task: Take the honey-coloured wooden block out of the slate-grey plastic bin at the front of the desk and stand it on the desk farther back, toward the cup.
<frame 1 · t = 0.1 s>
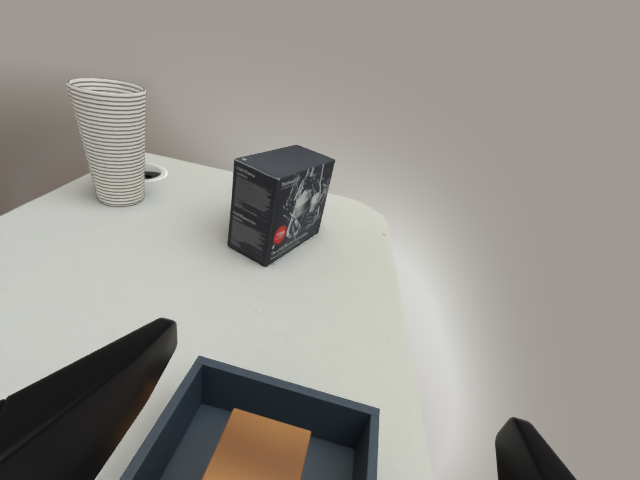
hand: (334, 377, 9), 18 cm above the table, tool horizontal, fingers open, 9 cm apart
small box: (276, 240, 49), on the table
cup: (121, 198, 50), on the table
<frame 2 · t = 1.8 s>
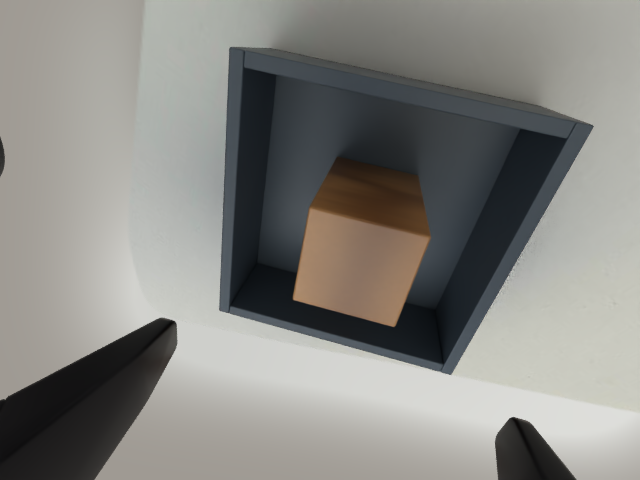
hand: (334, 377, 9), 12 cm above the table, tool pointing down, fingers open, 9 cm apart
block: (367, 203, 19), resting on bin
bin: (367, 200, 20), on the table
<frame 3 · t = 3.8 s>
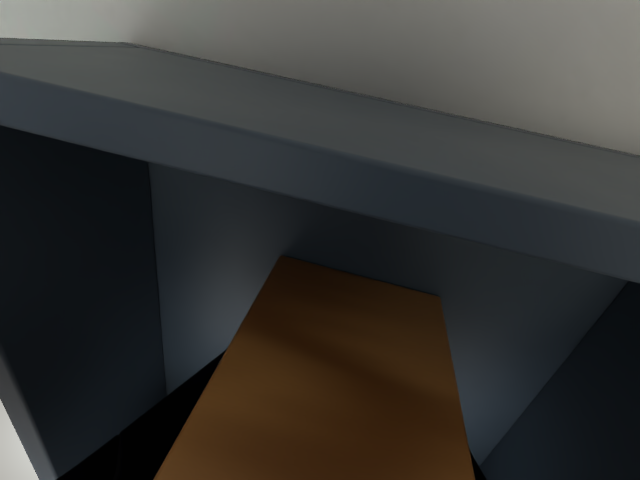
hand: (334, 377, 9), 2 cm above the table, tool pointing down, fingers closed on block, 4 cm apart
block: (341, 332, 10), resting on bin, touching gripper
bin: (343, 324, 11), on the table
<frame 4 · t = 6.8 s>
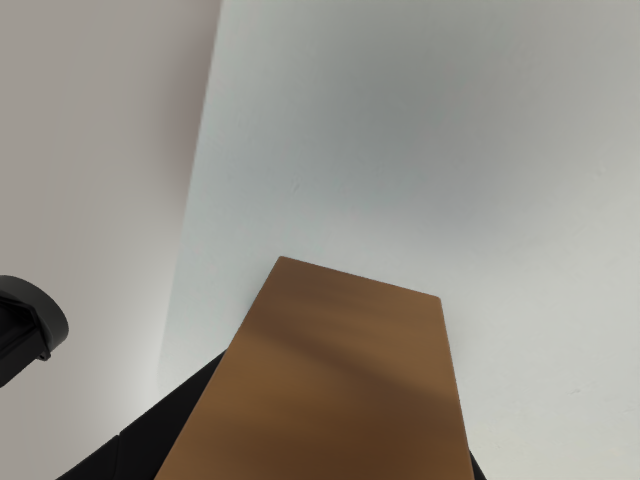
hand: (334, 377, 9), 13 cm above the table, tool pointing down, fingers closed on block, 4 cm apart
block: (341, 333, 10), point 11 cm above the table, touching gripper
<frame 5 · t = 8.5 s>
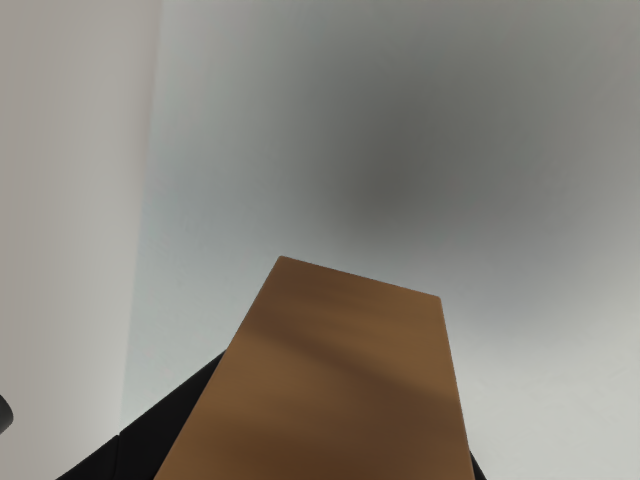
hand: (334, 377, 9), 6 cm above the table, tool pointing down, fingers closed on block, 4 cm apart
block: (341, 333, 10), point 5 cm above the table, touching gripper
when the fingers open (2 cm above the table, at t = 10.1 s): block stays where it is, on the table.
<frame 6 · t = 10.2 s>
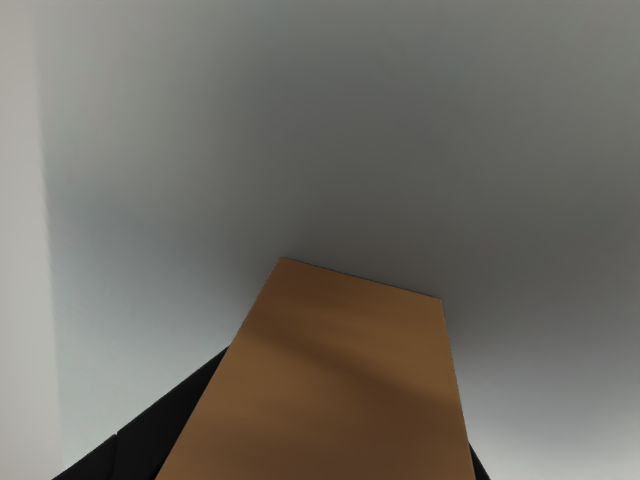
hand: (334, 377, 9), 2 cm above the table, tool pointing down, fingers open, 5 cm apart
block: (341, 335, 10), on the table
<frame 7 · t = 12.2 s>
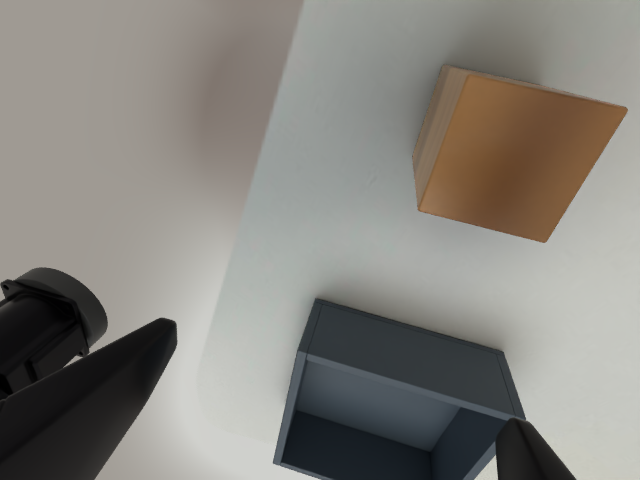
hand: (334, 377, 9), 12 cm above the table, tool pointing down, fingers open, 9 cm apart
block: (471, 124, 17), on the table
bin: (381, 383, 27), on the table
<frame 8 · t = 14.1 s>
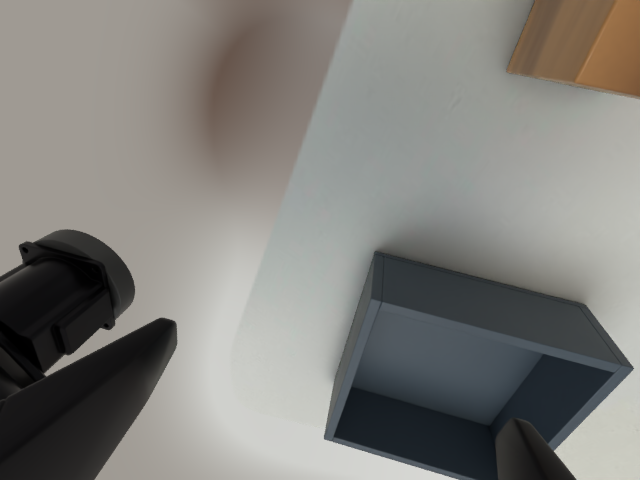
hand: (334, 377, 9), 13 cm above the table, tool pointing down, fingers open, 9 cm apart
block: (581, 25, 15), on the table
bin: (440, 349, 25), on the table
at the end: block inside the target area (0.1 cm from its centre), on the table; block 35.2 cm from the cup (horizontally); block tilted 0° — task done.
